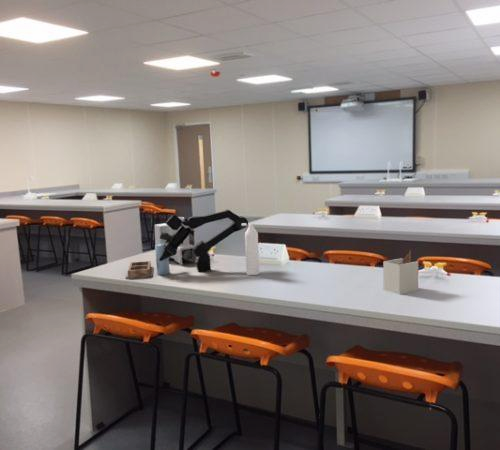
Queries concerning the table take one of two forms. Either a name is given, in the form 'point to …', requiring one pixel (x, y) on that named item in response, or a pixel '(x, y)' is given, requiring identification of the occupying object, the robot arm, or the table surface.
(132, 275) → the wooden divided tray
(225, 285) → the table surface
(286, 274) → the table surface
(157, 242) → the electronic device
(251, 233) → the water bottle
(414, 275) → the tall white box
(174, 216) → the robot arm
